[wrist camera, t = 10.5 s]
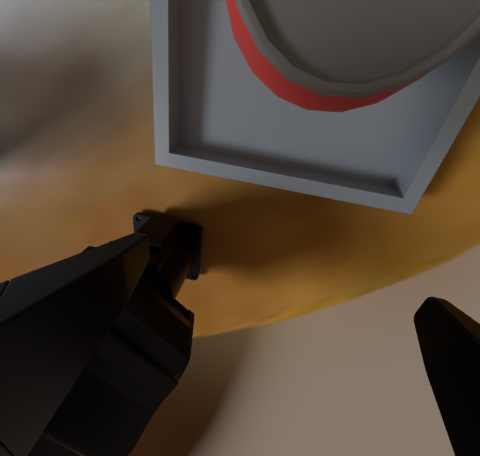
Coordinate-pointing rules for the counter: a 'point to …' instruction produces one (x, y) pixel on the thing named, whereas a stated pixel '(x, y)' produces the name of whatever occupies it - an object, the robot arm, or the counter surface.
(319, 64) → the beer can
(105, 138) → the counter surface
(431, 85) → the tray
